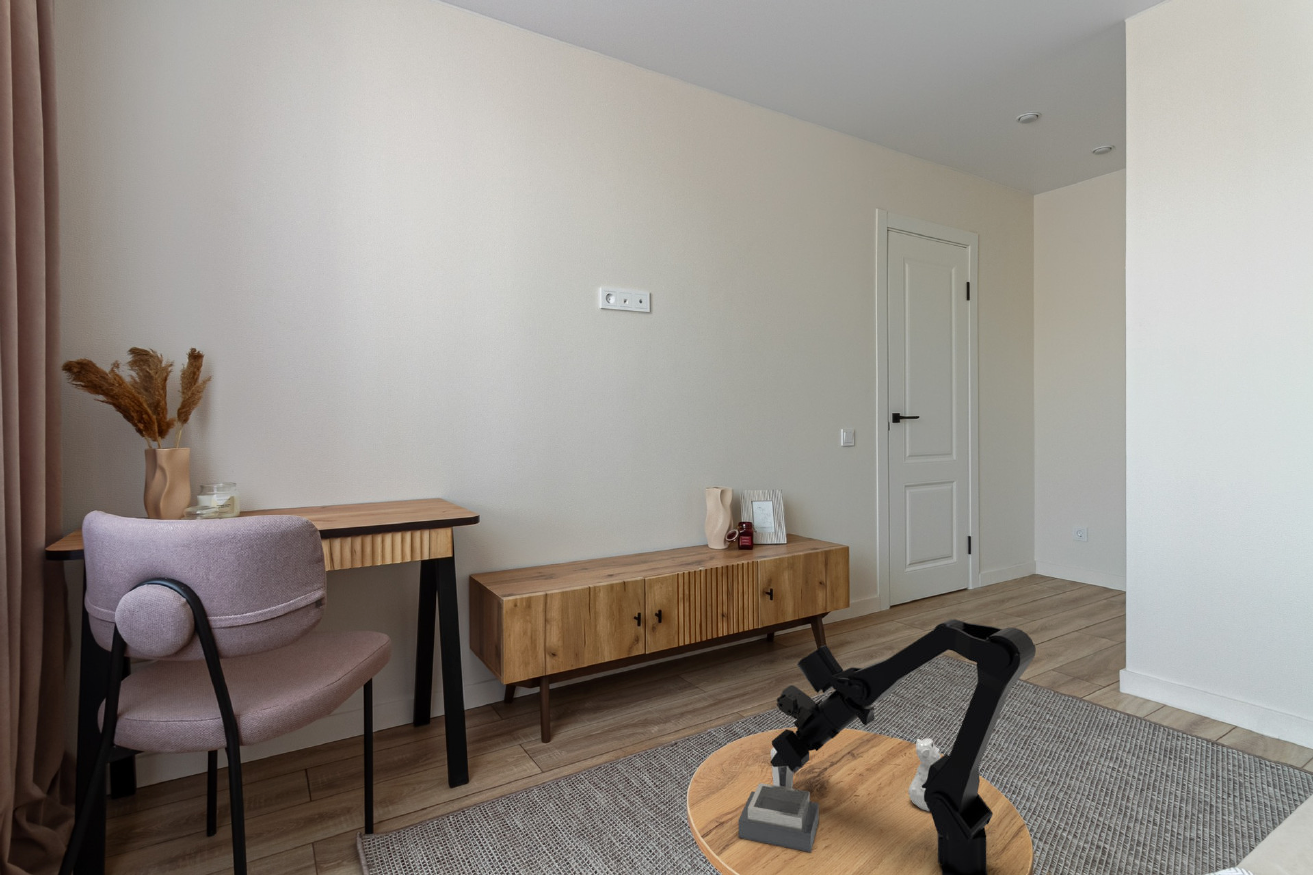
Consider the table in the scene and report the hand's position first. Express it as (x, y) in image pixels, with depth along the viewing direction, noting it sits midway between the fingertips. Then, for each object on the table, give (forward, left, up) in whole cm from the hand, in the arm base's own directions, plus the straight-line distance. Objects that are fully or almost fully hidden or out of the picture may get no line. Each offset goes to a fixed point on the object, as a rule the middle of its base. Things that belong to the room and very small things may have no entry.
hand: (777, 759), depth 130 cm
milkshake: (-1, 0, -7) cm, 7 cm away
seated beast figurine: (-27, -6, -7) cm, 29 cm away
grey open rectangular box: (-2, +11, -7) cm, 13 cm away
